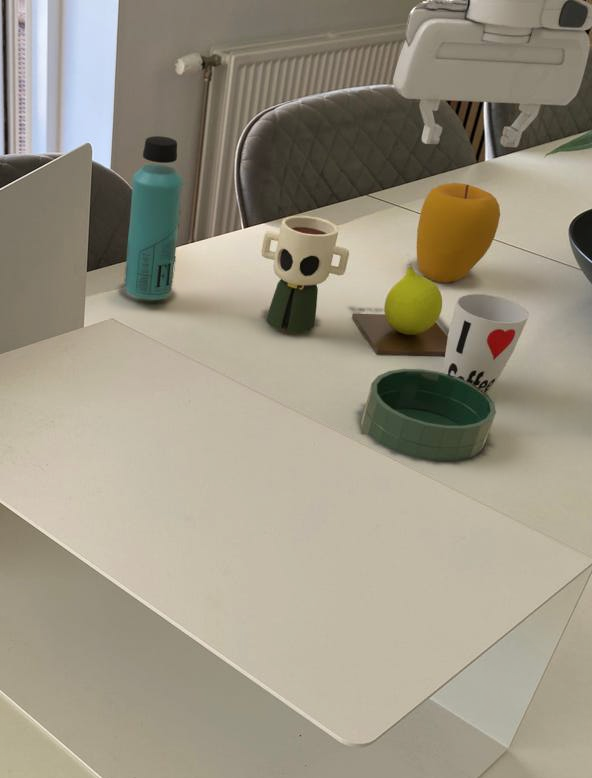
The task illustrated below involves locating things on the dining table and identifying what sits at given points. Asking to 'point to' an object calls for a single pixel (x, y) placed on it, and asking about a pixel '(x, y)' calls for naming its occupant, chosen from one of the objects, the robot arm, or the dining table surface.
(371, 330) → the coaster
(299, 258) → the character mug
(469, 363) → the cup
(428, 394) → the pot
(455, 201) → the orange rounded piece
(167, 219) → the beverage bottle
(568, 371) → the dining table surface
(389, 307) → the green fig
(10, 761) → the dining table surface
